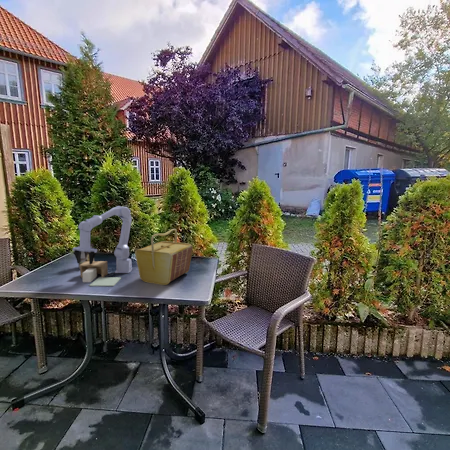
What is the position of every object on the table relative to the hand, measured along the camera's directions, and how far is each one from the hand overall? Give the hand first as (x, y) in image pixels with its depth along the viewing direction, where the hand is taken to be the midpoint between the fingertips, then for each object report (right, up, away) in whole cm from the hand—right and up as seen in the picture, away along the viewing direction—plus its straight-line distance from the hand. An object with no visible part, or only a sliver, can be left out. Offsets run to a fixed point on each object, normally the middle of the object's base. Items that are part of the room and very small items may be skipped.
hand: (85, 263), depth 179 cm
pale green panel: (+13, -11, -1) cm, 17 cm away
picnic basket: (+47, -11, +9) cm, 49 cm away
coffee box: (-12, -7, +29) cm, 32 cm away
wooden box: (+1, -9, +10) cm, 14 cm away
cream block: (+2, -11, +3) cm, 11 cm away
